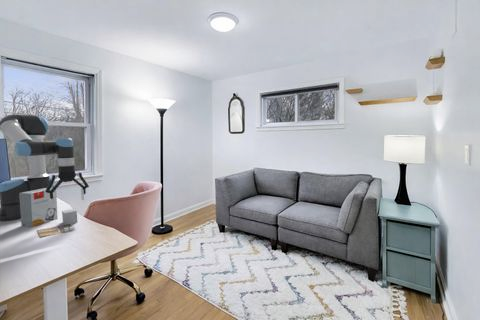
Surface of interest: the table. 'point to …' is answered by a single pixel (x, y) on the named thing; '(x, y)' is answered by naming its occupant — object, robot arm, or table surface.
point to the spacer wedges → (68, 229)
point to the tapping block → (69, 216)
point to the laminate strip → (61, 228)
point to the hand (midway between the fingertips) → (69, 202)
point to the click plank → (48, 232)
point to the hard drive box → (37, 207)
